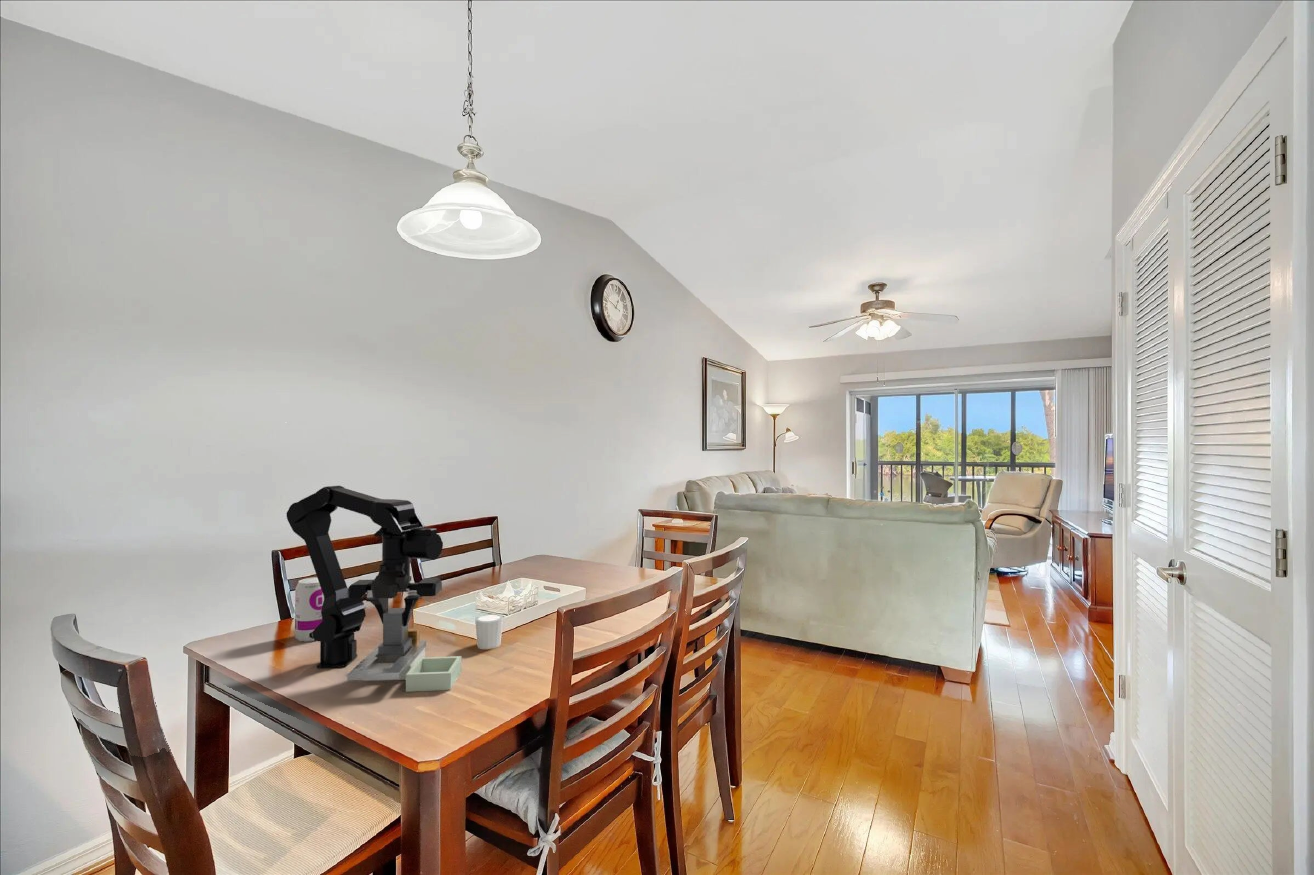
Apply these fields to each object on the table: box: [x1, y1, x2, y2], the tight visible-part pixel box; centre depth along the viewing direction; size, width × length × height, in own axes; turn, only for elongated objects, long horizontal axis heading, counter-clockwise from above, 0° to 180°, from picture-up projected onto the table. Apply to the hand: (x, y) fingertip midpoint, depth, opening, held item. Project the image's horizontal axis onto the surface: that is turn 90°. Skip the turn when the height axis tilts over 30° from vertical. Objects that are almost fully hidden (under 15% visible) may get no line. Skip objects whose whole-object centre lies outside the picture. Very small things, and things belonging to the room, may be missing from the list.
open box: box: [405, 655, 462, 693], centre depth 119 cm, size 9×9×4 cm
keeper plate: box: [346, 627, 427, 681], centre depth 121 cm, size 18×10×4 cm, turn 6°
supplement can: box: [294, 576, 324, 643], centre depth 145 cm, size 8×8×15 cm
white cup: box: [475, 613, 504, 650], centre depth 140 cm, size 7×7×7 cm
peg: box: [378, 607, 412, 656], centre depth 124 cm, size 5×5×9 cm
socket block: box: [361, 647, 426, 682], centre depth 124 cm, size 10×10×3 cm
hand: (395, 626), depth 124 cm, fingers closed on peg, 4 cm apart
